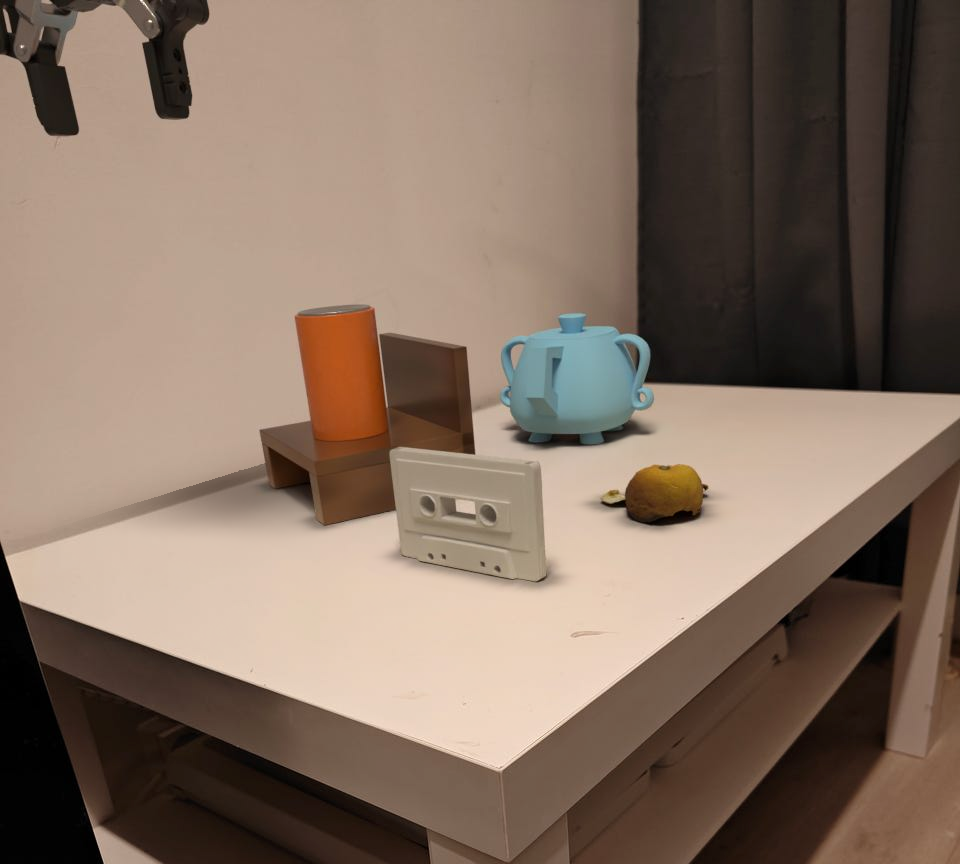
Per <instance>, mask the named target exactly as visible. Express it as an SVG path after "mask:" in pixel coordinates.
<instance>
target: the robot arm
mask: <svg viewBox="0 0 960 864" xmlns="http://www.w3.org/2000/svg"><path fill="white" fill-rule="evenodd" d="M48 1H49V2H50V3H46V2H43V1H42V0H0V56H1V55H2V56H6V57H8V58H11V59H15V60H16V61H17V60H18V61H19V62H20V63H21V64H22V66H23V67H24V70H25V73H26V78H27V82H28V86H29V89H30V90H29V91H30V94H31V97H32V103H33V105H34V110H35V114H36V117H37V119H38V122H39V123H40V126H42V127H43V129H44V132H45V133H46V134H47V135H48V136H50V137H72V136H77V135H79V132H80V126H79V122H78V117H77V113H76V109H75V105H74V101H73V95H72V91H71V87H70V82H69V79H68V78H69V77H68V74H67V69H66V66H63V65H59V64H60V62H61V59H62V54H63V50H64V46H65V41H66V38H67V34H68V32H70V31H72V30H73V29H74V28H75V26H76V22H77V19H78V14H79V13H87V12H91V11H94V10H96V9H97V8H99V7H100V6H102V5H106V6H111V7H115V6H117V7H120V8H121V9H123V10H124V12H125V13H126V14H127V15H128V17H129V18H130V19H131V21H133V23H134V25H135V26H136V27H137V28H138V30H140V32H141V33H142V35H143V36H145V38H147V39H148V41H143V42H142V43H141V45H142V50H143V55H144V61H145V65H146V69H147V70H146V71H147V75H148V81H149V85H150V90H151V95H152V100H153V105H154V106H153V107H154V110H155V113H156V115H157V116H158V118H160V119H161V120H172V121H178V120H186V119H188V118H189V117H190V107H192V105H193V92H192V85H191V81H190V76H189V69H188V64H187V58H186V52H185V46H184V42H185V39H186V36H187V34H188V33H189V32H190V31H191V30H192V29H194V28H195V27H196V26H197V25H200V26H204V25H206V24H207V23H208V21H209V19H210V8H209V4H208V0H48ZM4 11H5V12H6V13H7V17H8V21H9V22H8V23H9V26H10V31H11V32H10V31H8V27H7V22H6V17H5V12H4ZM41 33H42V34H41Z"/></svg>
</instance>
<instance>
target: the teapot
mask: <svg viewBox="0 0 960 864" xmlns="http://www.w3.org/2000/svg"><path fill="white" fill-rule="evenodd" d="M586 317H587V314H584V313H583V312H582V313H581V312H578V313H577V312H575V313H574V312H572V313H565V314H560V315H559V316H557V320H558V323H559V326H560V327H556V328H549V329H545V330H541V331H537V332H534V333H532V334H531V335H529V336H528V335H516V336H514V337H512V338H510V339H509V340H507V342H506V343H504V345H503V347H502V349H501V351H500V361H501V366H502V369H503V372H504V376H505V378H506V380H507V382H508V385H506V386H505V387H504V388H502V390H501V392H500V395H499V396H500V401H501V404H503V405H504V406H505V407H507V408H509V411H510V414H511V416H512V418H513V420H514V421H515V422H516V424H517V425H518V426H519V427H520V428H521V430H522V431H525V432H529V433H531V435H530V437H529V438H528V440H527V441H528V442H530V443H546V442H549V441H551V440H552V438H553V435H579V442H580V444H583V445H598V444H599V445H600V444H602V443H603V442H605V440H604V436H603V435H602V432H615V431H621V430H624V427H623V426H622V425H624V424H626V423H627V422H628V421H630V419H631V417H632V416H633V415H634V413H635V411H646V410H649V409H650V408H651V407H652V406H653V405H654V401H655V394H654V392H653V390H652V389H651V388H649V387H646V386H645V387H643V385H644V383H645V380H646V377H647V374H648V370H649V366H650V362H651V349H650V347H649V344H648V342H647V341H645V340H644V339H643V338H642V337H640V336H639V335H636V334H634V333H623V334H621V333H620V331H619V330H618V329H617V328H616V327H615V326H611V325H609V326H608V325H607V326H605V325H591V326H590V325H589V326H587V325H585V321H586ZM584 325H585V326H584ZM626 344H630V345H632V346H635V347H636V348H637V350H638V353H639V363H638V367H637V369H636V367H635V363H634V360H633V358H632V356H631V353H630V351H629V349H628V347H627V345H626ZM519 345H523V347H522V349H521V352H520V354H519V357H518V361H517V362H516V366H515V368H514V365H513V362H512V351H513V350H512V349H513V348H514V347H515V346H519ZM509 393H510V394H509ZM641 394H643V395H644V397H645V400H644V401H642V399H641Z"/></svg>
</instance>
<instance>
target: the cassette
mask: <svg viewBox="0 0 960 864" xmlns="http://www.w3.org/2000/svg"><path fill="white" fill-rule="evenodd" d="M389 455H390V464H391V472H392V480H393V489H394V497H395V505H396V509H395V513H396V520H397V528H398V538H399V546H400V547H399V548H400V553H401V554H402V555H403V556H404V557H408V558H412V559H417V561H419V562H424V563H428V564H432V565H433V564H434V565H439V566H445V567H448V568H449V567H450V568H455V569H459V570H464V571H469V572H475V573H479V574H485V575H489V576H496V577H501V578H506V579H511V580H515V579H520V580H525V581H530V582H538V581H539V580H541V579H543V578H545V577H546V576H547V561H546V559H547V557H546V556H547V555H546V538H545V537H546V536H545V522H544V521H545V519H544V518H545V517H544V502H543V480H542V479H543V478H542V466H541V464H540V462H539V461H537V460H529V459H528V460H527V459H521V458H510V457H501V456H493V455H492V456H491V455H481V454H475V455H473V454H463V453H454V452H444V451H435V450H425V449H416V448H407V447H398V448H395V449H393V450H391V451H390V454H389ZM457 500H462V501H467V502H474V511H475V513H470V512H469V513H468V512H463V511H457V502H456V501H457Z"/></svg>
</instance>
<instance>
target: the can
mask: <svg viewBox="0 0 960 864" xmlns="http://www.w3.org/2000/svg"><path fill="white" fill-rule="evenodd" d="M294 323H295V329H296V336H297V343H298V348H299V355H300V362H301V367H302V374H303V380H304V385H305V386H304V387H305V393H306V401H307V405H308V413H309V418H310V420H309V421H311V426H312V433H313V437H314V438H315V439H318V440H323V441H348V440H357V439H363V438H368V437H373V436H376V435H379V434H382V433H384V432H386V431H387V430H388V429H389V426H388V417H387V409H386V407H387V400H386V391H385V383H384V375H383V367H382V358H381V350H380V342H379V334H378V328H377V320H376V310H375V307H373V306H371V305H370V304H363V303H361V304H340V305H330V306H321V307H315V308H314V307H313V308H309V309H304V310H300V311H298V312H297V314H295V315H294Z"/></svg>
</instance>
